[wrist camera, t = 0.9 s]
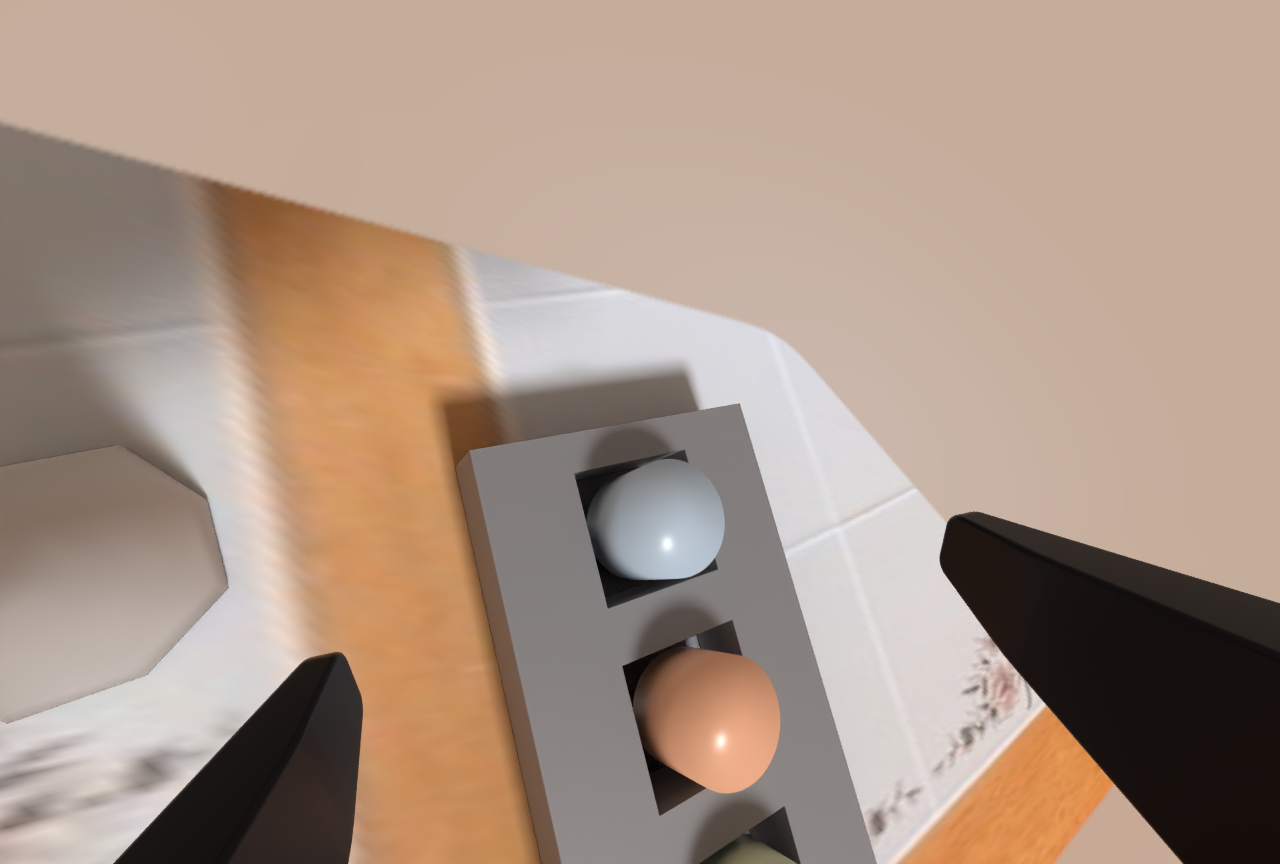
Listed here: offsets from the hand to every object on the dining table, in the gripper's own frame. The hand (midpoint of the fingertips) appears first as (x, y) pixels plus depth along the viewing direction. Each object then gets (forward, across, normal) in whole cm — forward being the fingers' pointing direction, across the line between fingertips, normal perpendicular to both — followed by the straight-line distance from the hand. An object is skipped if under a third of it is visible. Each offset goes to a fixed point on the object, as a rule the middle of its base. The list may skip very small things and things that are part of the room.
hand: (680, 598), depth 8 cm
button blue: (+12, -2, +7) cm, 14 cm away
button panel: (+10, -2, +14) cm, 17 cm away
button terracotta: (+8, -2, +13) cm, 16 cm away
